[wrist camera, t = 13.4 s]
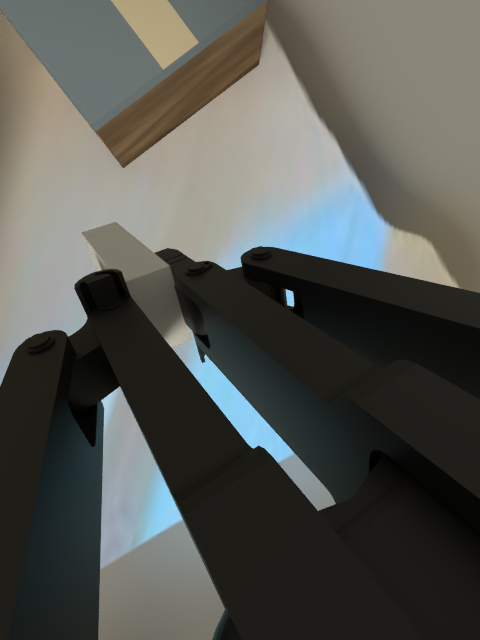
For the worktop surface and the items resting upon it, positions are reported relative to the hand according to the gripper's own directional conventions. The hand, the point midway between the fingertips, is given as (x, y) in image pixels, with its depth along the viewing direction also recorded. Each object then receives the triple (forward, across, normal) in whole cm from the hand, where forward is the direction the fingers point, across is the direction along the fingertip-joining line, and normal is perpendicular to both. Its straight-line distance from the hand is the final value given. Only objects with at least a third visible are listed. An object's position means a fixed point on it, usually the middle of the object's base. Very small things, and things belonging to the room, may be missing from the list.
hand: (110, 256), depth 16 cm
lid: (+27, +13, +15) cm, 33 cm away
